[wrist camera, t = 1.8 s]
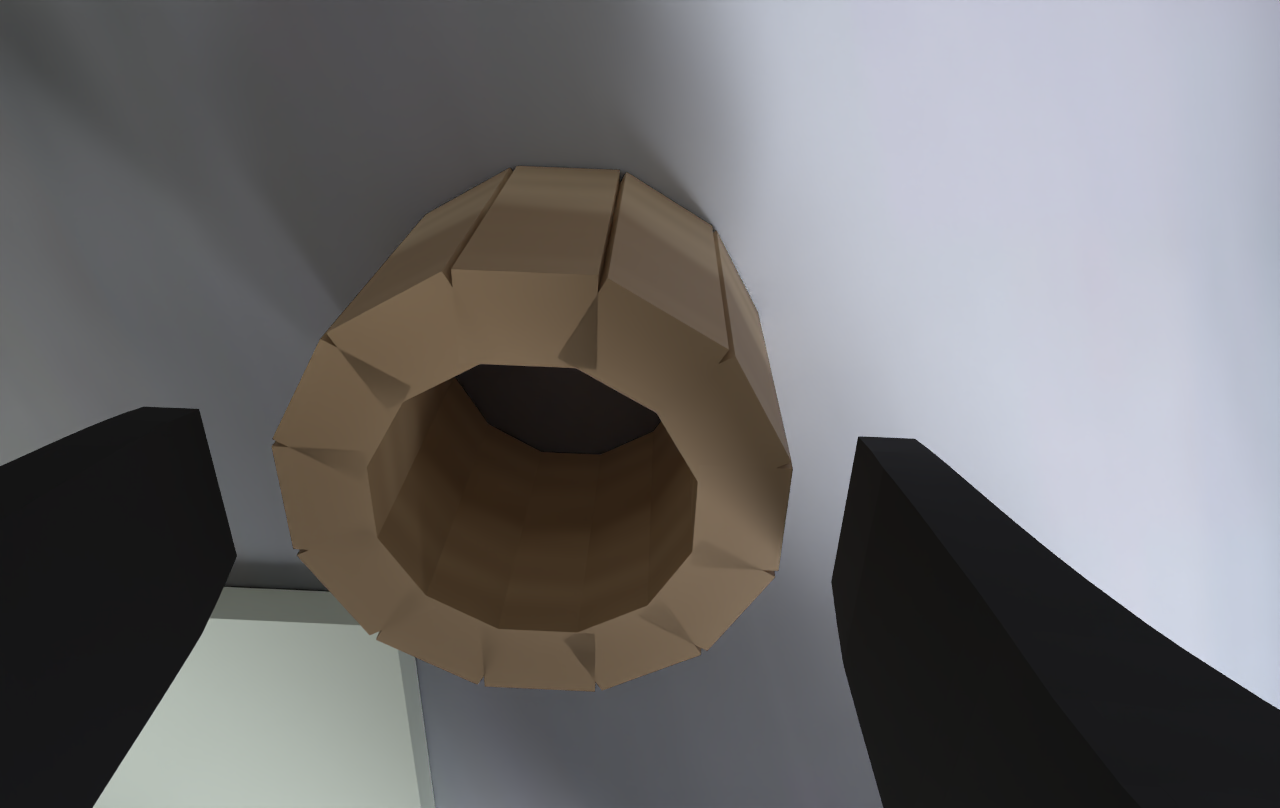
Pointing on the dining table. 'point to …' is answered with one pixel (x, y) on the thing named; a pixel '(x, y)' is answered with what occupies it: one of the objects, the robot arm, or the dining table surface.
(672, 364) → the bead
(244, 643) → the white board with peg
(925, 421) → the dining table surface
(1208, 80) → the dining table surface
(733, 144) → the dining table surface
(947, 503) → the robot arm
